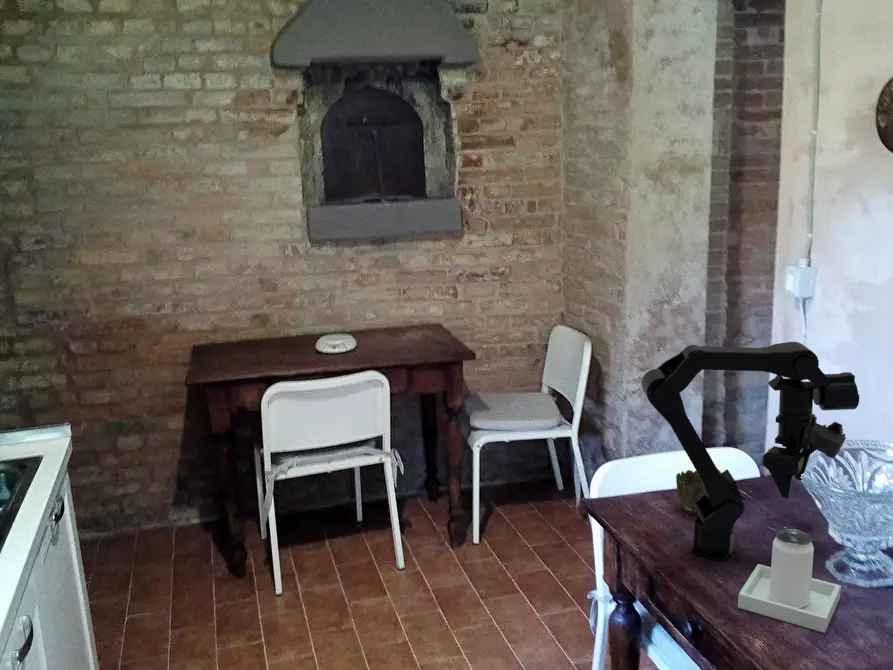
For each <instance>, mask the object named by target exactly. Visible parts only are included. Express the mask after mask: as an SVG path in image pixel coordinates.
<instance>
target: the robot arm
mask: <svg viewBox="0 0 893 670" xmlns="http://www.w3.org/2000/svg"><path fill="white" fill-rule="evenodd" d="M819 366H820V363H819V357H818V355H816V353H815V352H814V351H812V350H811V349H809V348H808V347H807V346H806V345H804V344H803V343H801V342H799V341H788V342H786V341H785V342H782V343H781V342H780V343H774V344H771V345H769V346H764V347H743V346H742V347H741V346H708V345H707V346H706V345H705V346H704V345H703V346H702V345H701V346H700V345H697V344H690V345H687V346H686V347H685V348H684V349H683V350H681V351H680V352H679V353H677V354H676V355H673V357H670V358H669V359H667V360H666V361H664V362H663V363H661V364H660V365H659V366H658V367H656V368H653V369H650V370H648V371H647V372H646V373H645V374H644V375H643V377H642V380H641V383H640V384H641V388H642V390H643V392H644V395H645V396H646V399H647V400H648V401H649V403H650V405H651V406H653V408H654V409H655V410H656V411H657V412H658V414H659V415H661V417H662V418H663V419H664V420H665V421H666V422H667V423H668V424H669V426H670V427H671V429H672V431H673V433H674V434H675V436H676V439H678V441H679V442H680V445H681V446H682V448H683V451H684V452H685V454H686V455H687V456H688V458H689V461H690V462H691V464H692V466H693V467H694V469H695V471H697V472H698V474H699V476H700V480H701V484H702V487H703V490H704V493H705V494H704V495H703V496H701V497H700V498H699V499H698V500H697V501H696V502H694V507H695V509H696V512H697V515H698V517H696V519H695V520H694V530H693V531H694V533H693V545H692V546H693V547H691V549H690V551H689V552H690V554H692V555H696V556H699V557H700V556H701V557H704V558H706V559H707V558H708V559H711V560H715V561H718V562H724V561H725V560H726V559H727V558H728V557H729V556H730V555H731V554H732V552H733V551H734V540H735V531H734V530H733V528H734V526H735V524H736V522H737V520H738V519H740V518H741V516H742V515H744V512H745V510H746V506H745V502H744V501H745V500H746V497H745V496H744V493H742V491H741V488H739V486H738V485H737V481H736V479H734V477H733V475H732V474H731V472H730V471H729V469H725V470H724V471H723V472H722V471H720V470H719V469H718V468H717V465H716V464H715V462H714V461H713V459H712V457H711V455H710V454H709V452H708V450H707V449H706V447H705V445H704V443H703V442H702V440H701V438H700V436H699V435H698V433H697V431H696V429H695V428H694V426H693V424H692V422H691V421H690V419H689V418H688V417H689V416H687V413H686V409H685V405H684V402H683V398H682V396H681V393H682V392H683V391H684V390H686V389H687V388H688V387H689V385H690V384H691V383H692V381H693V380H694V379H695V378H696V376H698V374H699V373H700V372H702V370H706V371H731V372H732V371H738V372H740V371H742V372H765V373H769V374H774V375H776V376H775V377H774V378H773V379H771V380H769V381H768V383H767V384H768V386H769V387H770V388H771V389H772V390H773V391H775V392H776V391H779V406H778V407H779V408H778V415H777V416H775V423H777V424H778V432H777V435H776V436H775V438H774V444H777V445H781V446H782V447H781V446H775V445H774V446H772V447H770V448H769V449H768V450H767V451H766V452H765V453H764V454H763V456H762V466H763V467H764V468H766V470H768V471H769V473H770V475H771V477H772V479H773V481H774V483H775V484H776V487H777V489H778V491H779V493H780V496H781V497H782V498H783V499H789V497H790V494H791V489H792V485H793V482H794V477H795V480H797V481H802V480H803V479H801V478H800V477H801V474H803V473H804V472H806V470H807V466H808V462H809V460H810V457H811V454H812V453H814V452H815V451H818V452H819V453H822V454H825V456H826V457H828V458H832V459H834V458H836V457H837V456H838V454H839V452H840V451H841V449H842V447H843V444H844V443H845V440H846V439H847V437H846V433H844V429H843V424H841V423H839V422H837V421H834V422H832V423H830V424H829V425H827V424H823V425H822V424H820V423H817V418H818V417H817V416H816V414H815V413H813V405H814V404H815V405H816V406H819V408H820V410H821V411H844V410H845V411H847V410H856V409H857V408H858V406H859V404H860V394H859V391H858V386H857V382H856V376H855V375H854V374H853V373H852V372H850V371H848V372H840V373H825V372H823V371H822V370H821V368H820V367H819ZM806 380H808V381H806ZM804 474H805V473H804Z"/></svg>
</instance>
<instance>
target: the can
mask: <svg viewBox="0 0 893 670" xmlns="http://www.w3.org/2000/svg"><path fill="white" fill-rule="evenodd" d="M812 541H813V540H812V537H811V535H810V534H808V533H806V532H804V531H801V530H799V529H793V528H784V529H781V530H778V531H777V532H776V535H775V538H774V539H773V542H772V551H771V563H770V564H771V566H770V567H771V578H770V598H771V599H772V600H773V601H774V602H778V603H781V604H785V605H789V606H792V607H796V608H799V609H801V608H804V607H805V606H807V605H808V604H809V601H810V591H811V579H812V578H813V562H814V554H815V553H814V550H815V548H814V545H813V542H812Z"/></svg>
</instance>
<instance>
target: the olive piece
mask: <svg viewBox="0 0 893 670" xmlns="http://www.w3.org/2000/svg"><path fill="white" fill-rule="evenodd" d="M675 482H676V490H677V493H676V494H677V497H678V499H679V502H680V503H681V504H682V505H683V509H684V511H685V512H686V513H688V514H692V515H693V514H694V515H695V514H697V515H698V513H697V512H696V509H695V507H694V502H696V501H697V500H698V499H699V498H700V497H701V496H703V495H704V494H705V493H704V490H703V487H702V484H701V480H700V476H699V474H698V472H697V471H696V470H694V471H693V470H690V469H688V470H686V471H685V472H684V471H683V470H682V471H680V472H677V473H676V476H675Z"/></svg>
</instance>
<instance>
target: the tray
mask: <svg viewBox="0 0 893 670" xmlns="http://www.w3.org/2000/svg"><path fill="white" fill-rule="evenodd" d="M770 578H771V566H767V565H765V564H759V563H757V565H756V567H755V568H754V570H753V571H752V572H751V574H750V576H749V577H748V579H747V580H746V582H745V584H744V585H743V586H742V588H741V589H740V591H739V593H738V597H737V599H738V600H737V602H738V603H737V608H738V609H741V610H745V611H748V612H752V613H756V614H759V615H762V616H766V617H769V618H772V619H777V620H780V621H783V622H787V623H790V624H793V625H796V626H800V627H802V628H803V627H804V628H807V629H811V630H814V631H818V632H820V633H824V634H825V633H826V631H827V630H828V626H829V624H830V622H831V620H832V617H833V616H834V613H835V610H836V608H837V606H838V603H839V601H840V599H841V589H842V585H840V584H837V583H833V582H828V581H825V580H821V579H817V578H814V577H812V579H811V591H810V601H809V604H808V605H807V606H805V607H804V608H801V609H799V608H796V607H792V606H789V605H785V604H781V603H778V602H774V601H773V600H772V599H771V598H770Z"/></svg>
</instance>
